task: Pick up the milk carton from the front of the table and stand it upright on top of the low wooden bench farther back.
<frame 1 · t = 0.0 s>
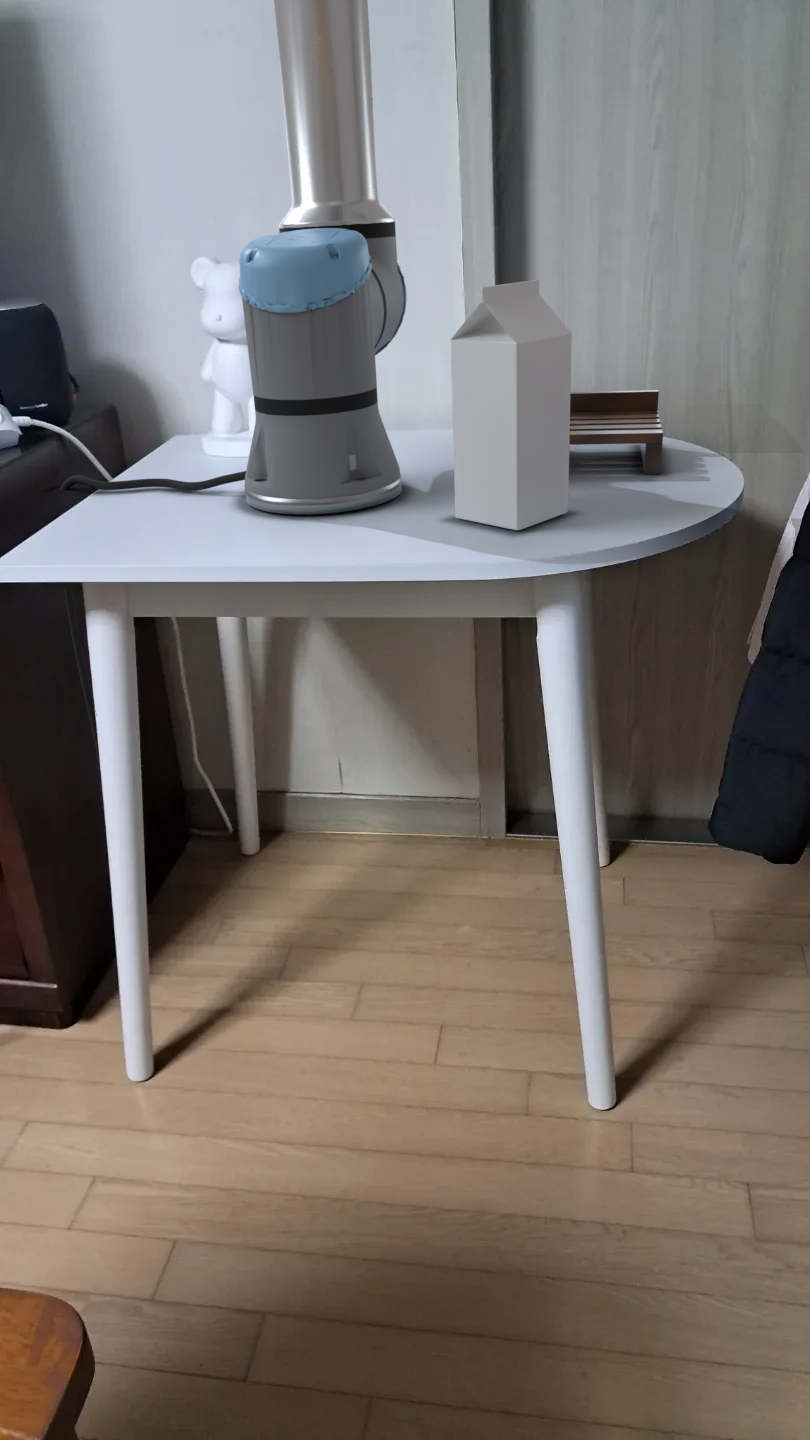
milk carton: (511, 519, 91), on the table
wooden bench: (594, 460, 109), on the table
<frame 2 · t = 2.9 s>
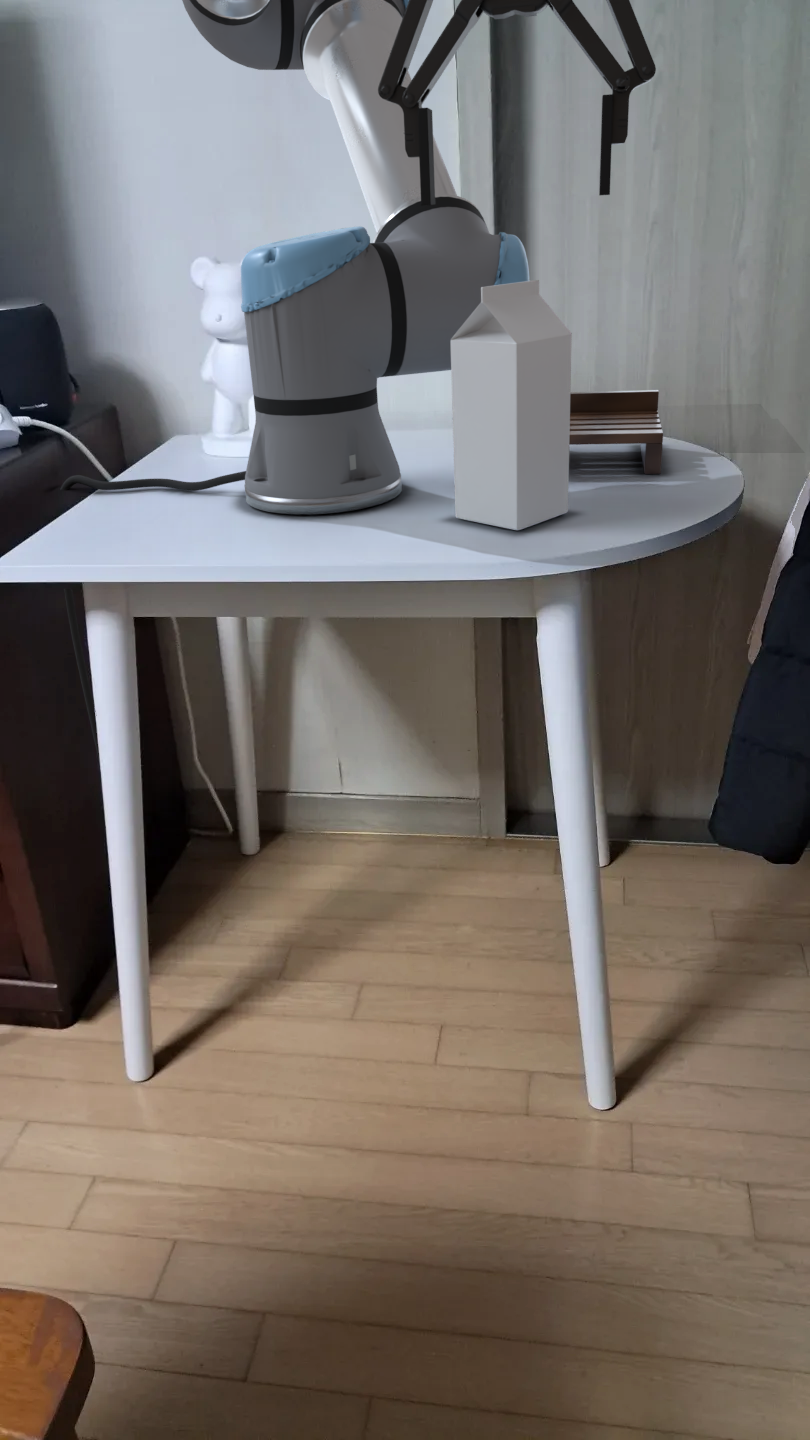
hand: (515, 200, 80), 25 cm above the table, tool pointing down, fingers open, 13 cm apart
nothing on the table moved.
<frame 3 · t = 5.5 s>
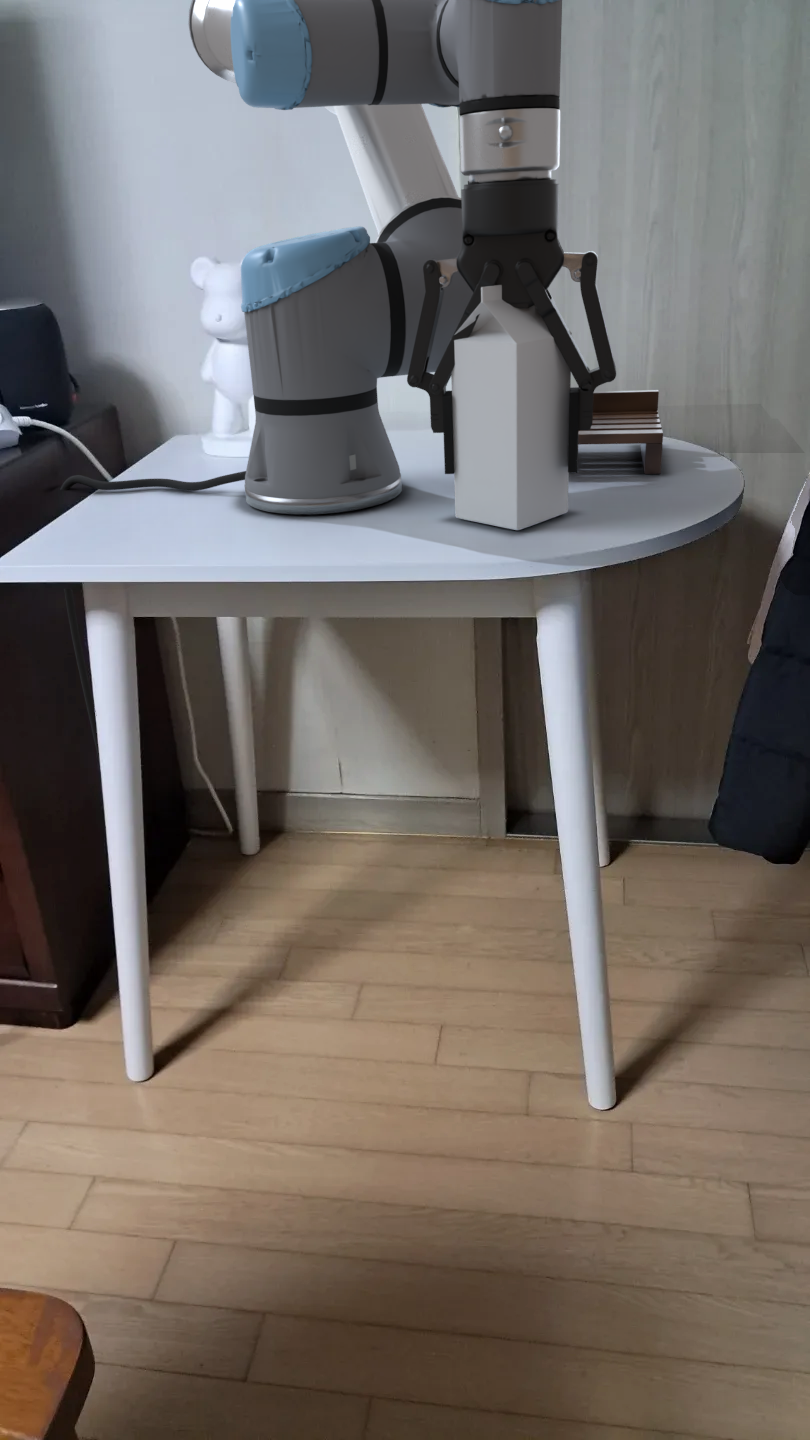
hand: (511, 469, 89), 4 cm above the table, tool pointing down, fingers closed on milk carton, 10 cm apart
milk carton: (511, 519, 91), on the table, touching gripper
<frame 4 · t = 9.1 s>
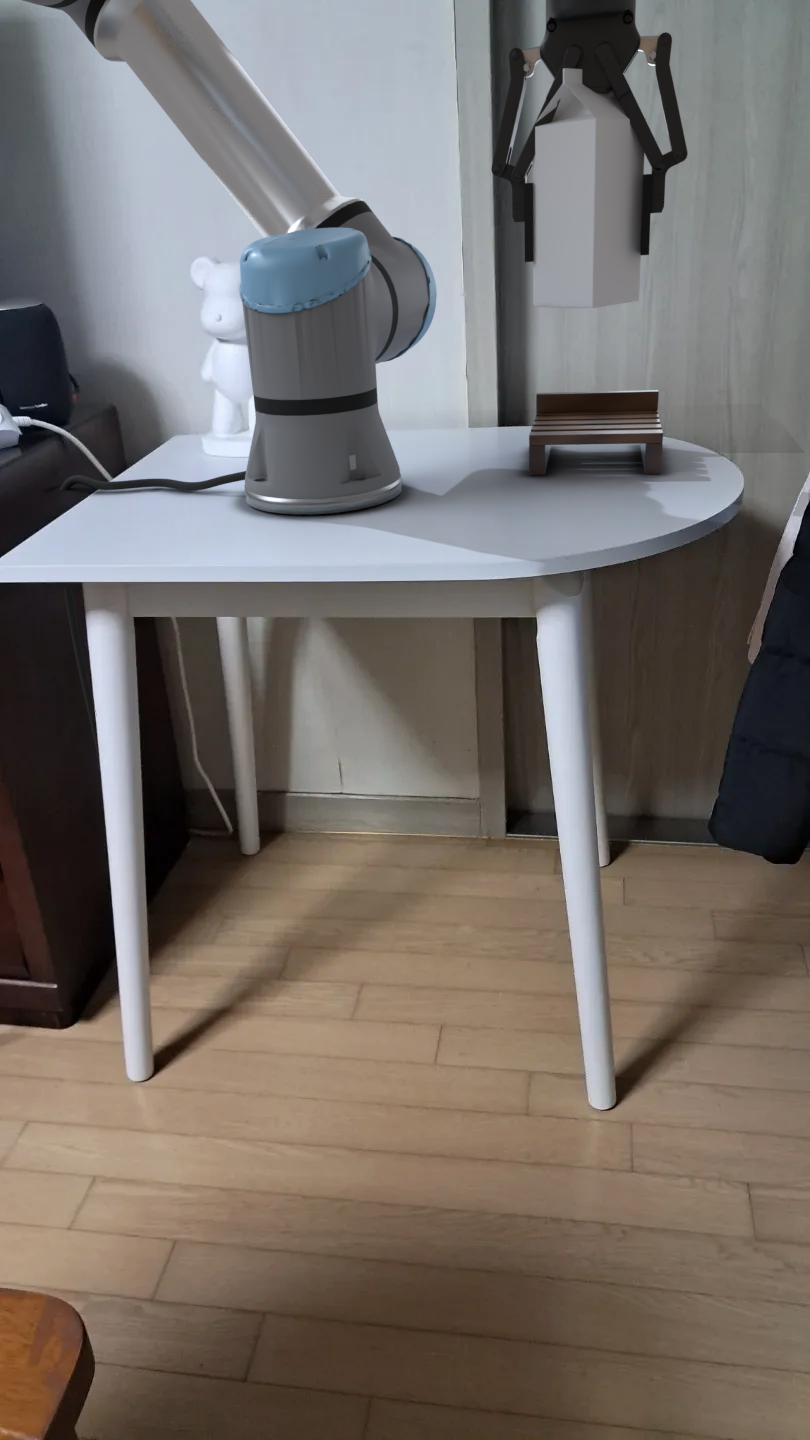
hand: (586, 257, 96), 20 cm above the table, tool pointing down, fingers closed on milk carton, 10 cm apart
milk carton: (586, 308, 97), point 16 cm above the table, touching gripper
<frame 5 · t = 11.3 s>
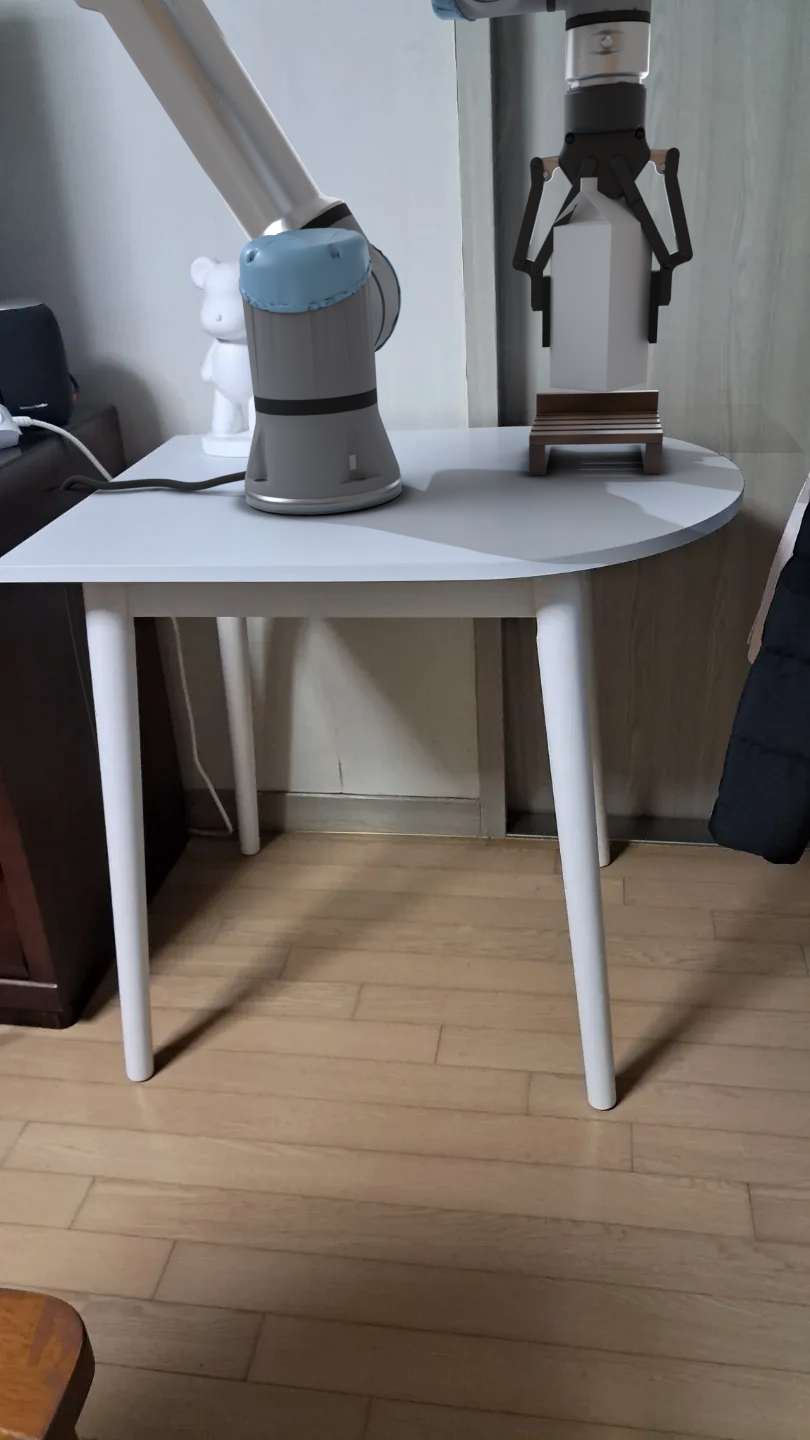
hand: (598, 343, 104), 12 cm above the table, tool pointing down, fingers closed on milk carton, 10 cm apart
milk carton: (597, 388, 106), point 7 cm above the table, touching gripper
when the fingers open (8 cm above the table, at t = 12.8 s): milk carton stays where it is, resting on wooden bench.
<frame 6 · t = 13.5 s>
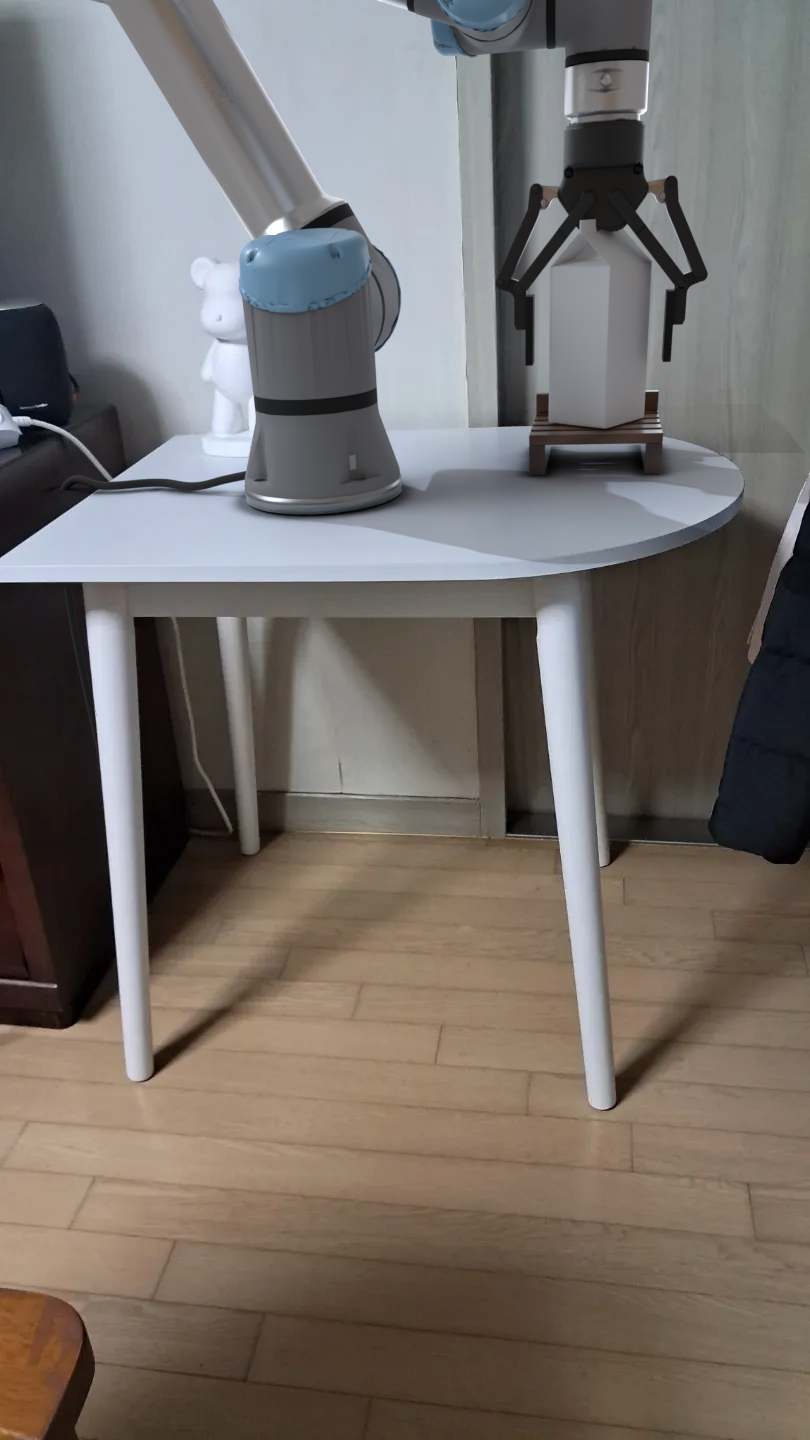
hand: (597, 362, 104), 10 cm above the table, tool pointing down, fingers open, 13 cm apart
milk carton: (596, 423, 107), point 4 cm above the table, touching wooden bench
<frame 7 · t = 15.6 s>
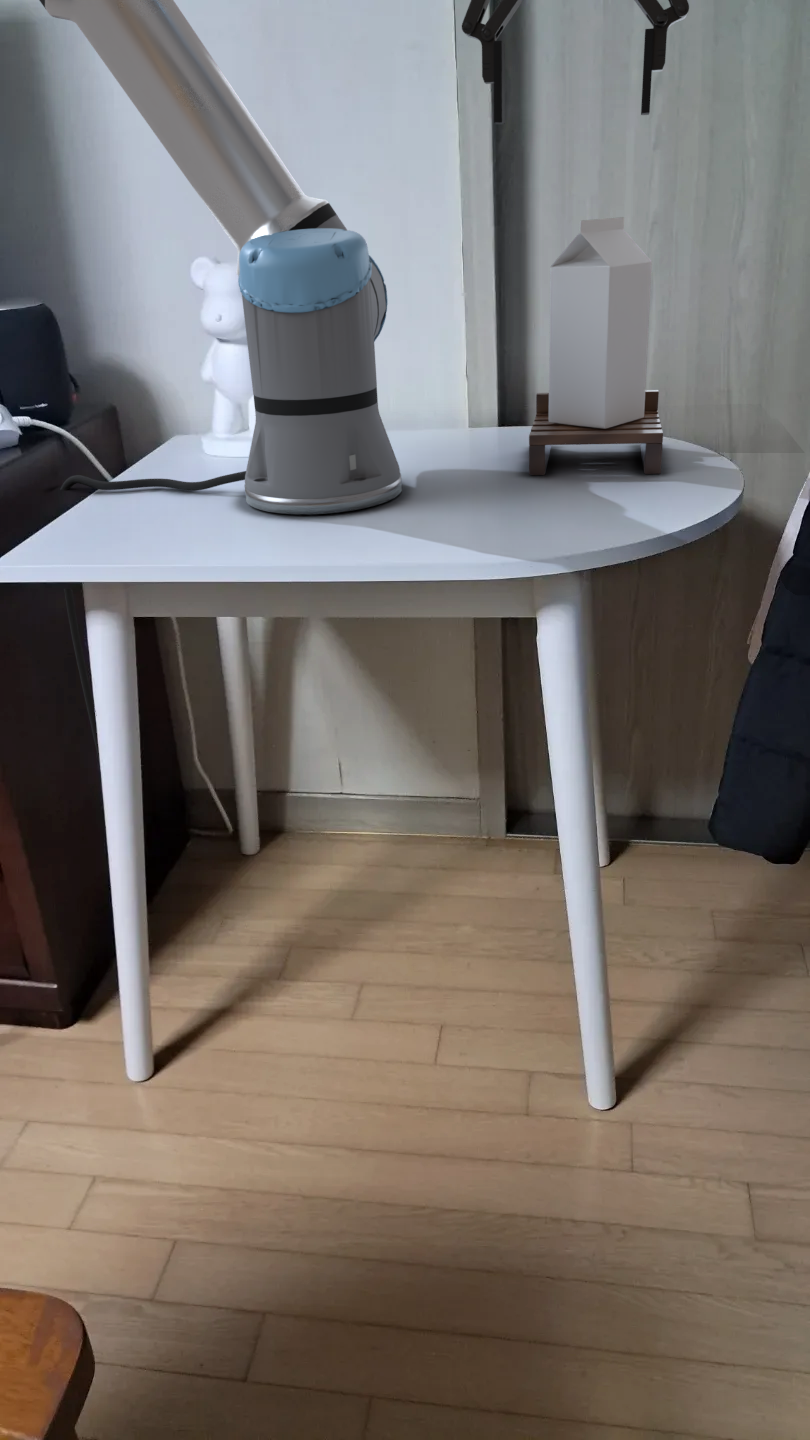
hand: (571, 119, 97), 32 cm above the table, tool pointing down, fingers open, 13 cm apart
nothing on the table moved.
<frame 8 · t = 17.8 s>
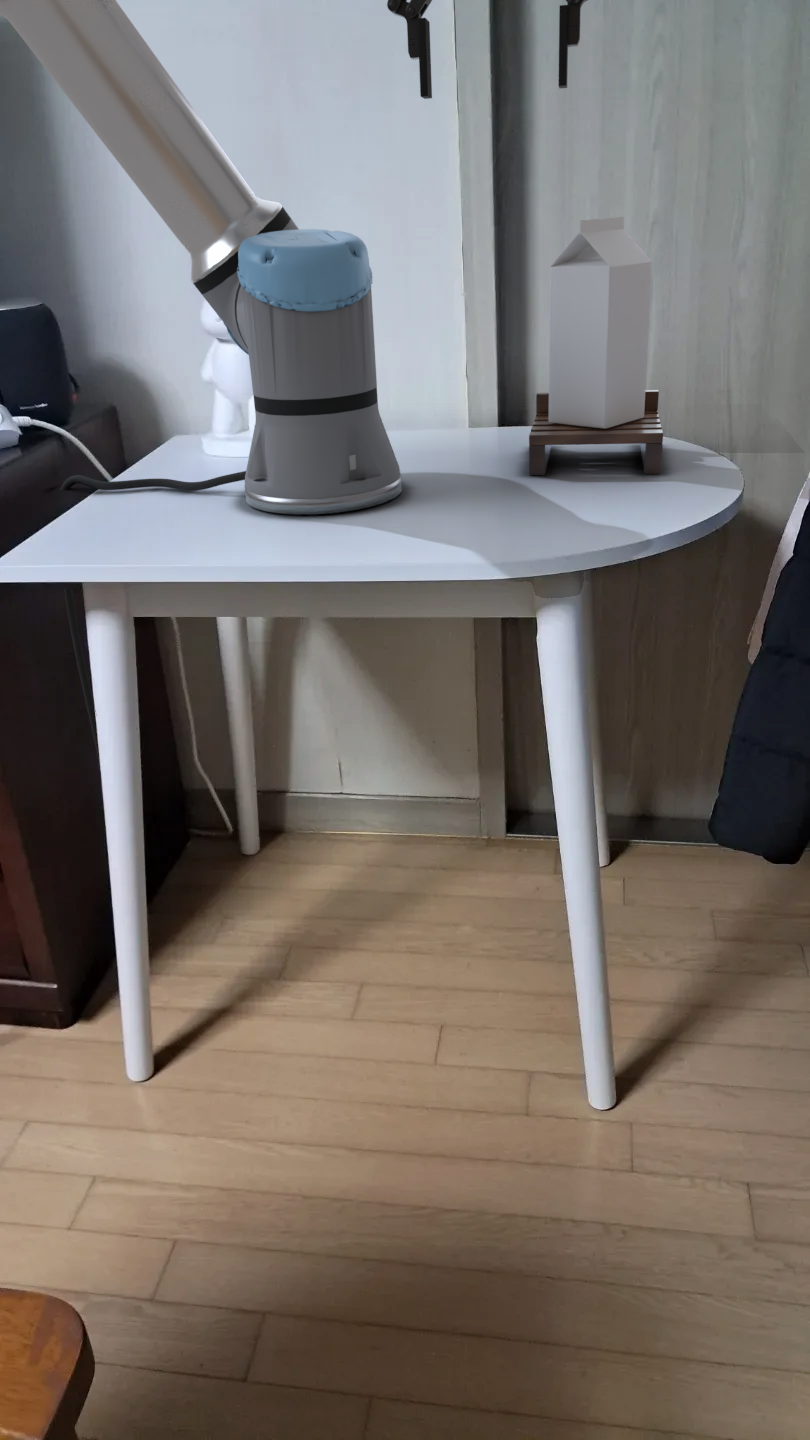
hand: (493, 92, 102), 35 cm above the table, tool pointing down, fingers open, 13 cm apart
nothing on the table moved.
at the end: milk carton inside the target area on the wooden bench (0.0 cm from its centre), point 3.8 cm above the wooden bench's base; milk carton tilted 0°; the gripper is holding nothing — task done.
